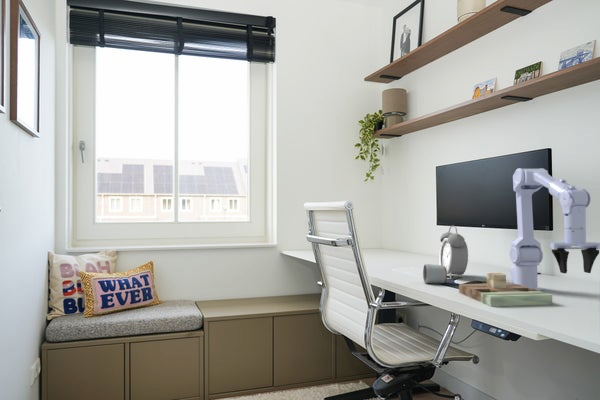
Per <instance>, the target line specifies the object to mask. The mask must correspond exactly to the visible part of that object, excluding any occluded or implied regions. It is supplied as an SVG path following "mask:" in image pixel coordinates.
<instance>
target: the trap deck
mask: <svg viewBox="0 0 600 400" xmlns="http://www.w3.org/2000/svg"><path fill="white" fill-rule="evenodd" d="M458 293H460V294H461V295H463V296H466V297H468V298H470V299H473V300H475V301H478V302H479V303H483V304H485V305H487V306H489V307H508V306H509V307H513V306H546V305H547V306H548V305H553V294H551V293H549V292H548V293H547V292H543V291H538V290H535V289H531V288H528V287H525V286H521V285H518V284H515V283H511V282H506V288H491V287H488V286H487V282H486V283H458Z"/></svg>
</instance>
